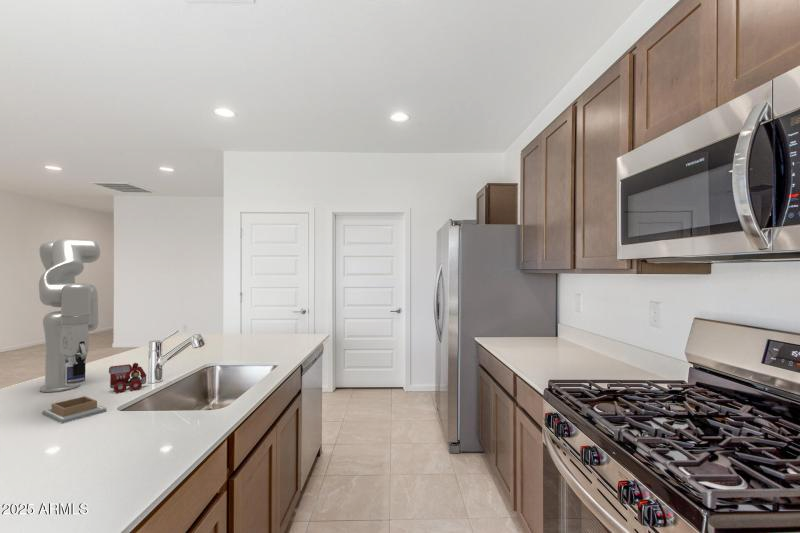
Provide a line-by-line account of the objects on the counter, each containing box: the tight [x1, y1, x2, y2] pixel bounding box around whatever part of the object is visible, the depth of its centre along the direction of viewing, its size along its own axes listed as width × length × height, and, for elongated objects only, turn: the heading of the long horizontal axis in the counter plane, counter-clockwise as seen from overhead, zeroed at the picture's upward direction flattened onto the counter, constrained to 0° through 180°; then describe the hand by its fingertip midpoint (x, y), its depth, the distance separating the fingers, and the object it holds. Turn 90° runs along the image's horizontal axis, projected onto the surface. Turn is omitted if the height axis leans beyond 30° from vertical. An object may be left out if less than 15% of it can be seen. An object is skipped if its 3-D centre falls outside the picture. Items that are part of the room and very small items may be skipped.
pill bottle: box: [65, 356, 87, 386], centre depth 129 cm, size 5×5×10 cm
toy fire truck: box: [108, 362, 147, 394], centre depth 155 cm, size 7×12×10 cm, turn 129°
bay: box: [41, 395, 107, 424], centre depth 129 cm, size 16×12×4 cm
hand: (75, 373), depth 129 cm, fingers closed on pill bottle, 5 cm apart
